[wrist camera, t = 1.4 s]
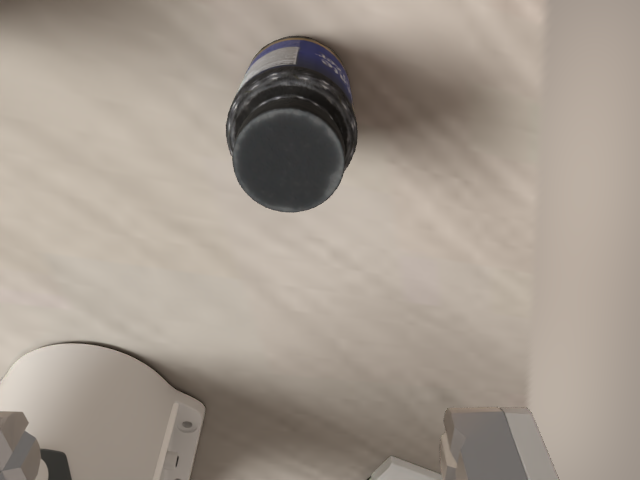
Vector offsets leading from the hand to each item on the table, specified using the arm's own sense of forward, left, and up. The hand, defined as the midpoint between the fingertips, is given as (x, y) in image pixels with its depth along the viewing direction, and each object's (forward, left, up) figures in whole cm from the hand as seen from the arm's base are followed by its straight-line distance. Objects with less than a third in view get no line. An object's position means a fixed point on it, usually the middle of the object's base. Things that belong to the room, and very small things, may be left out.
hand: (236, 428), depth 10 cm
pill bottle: (0, 0, -25) cm, 25 cm away
